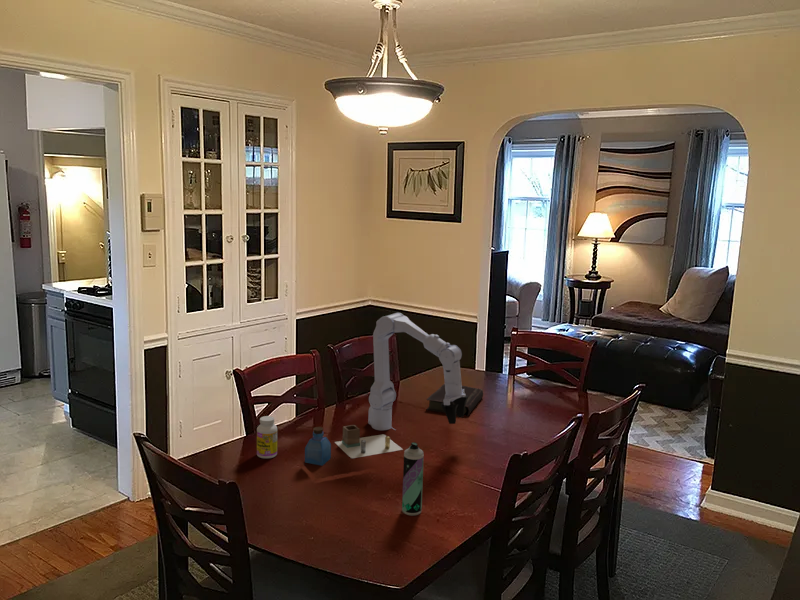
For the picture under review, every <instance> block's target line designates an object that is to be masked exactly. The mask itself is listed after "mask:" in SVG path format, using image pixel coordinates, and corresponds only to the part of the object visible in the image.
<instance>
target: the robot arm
mask: <svg viewBox="0 0 800 600" xmlns="http://www.w3.org/2000/svg"><path fill="white" fill-rule="evenodd" d="M375 322H376V325H375V328H374V330H373V333H372V338H373V339H372V342H373V344H372V345H373V367H374V368H373V369H374V370H373V371H374V382H373V384H372V385H371V387H370V394H369V396H368V402H369V404H370V406H369V408H368V419H367V420H368V421H367V423H368V425H370V426H371V428H372V429H374V430H376V431H388V430H390V429H393V430H394V431H396V430H397V429H395V428H393V426H392V422H393V421H392V418H393V416H392V415H393V404H394V403H393V402H394V401H396V399H397V398H396V397H397V392H396V390H395V387H394V383H393V381H391V380H390V378H391V377H390V350H389V349H390V348H389V339H390V338H391V337H392V336H393V335H394V334H395V333H406V334H407V335H409V336H410V337H412V338H413V339H416V340H417V341H419V342H421V343H422V344H423V347H424V349H426V350H427V351H428V352H430V353H431V354H432V355H435V356H436V357H437V358H438V359H439V362H440V363H441V364H442V369H443V377H444V384H445V391H446V394H445V399H444V400H443V401H444V403H442V404H441V407H442V408H443V410H444V411H445V415H446V419H447V421H448V424H450V425H455V424H456V422H457V418H464V416H465V414H464V410H465V405H466V401H467V399H468V396H466V394H465V391H464V389H462V386H463V384H462V375H461V373H462V372H461V361H460V360H461V359H462V357H463V352H462V349H461V348H460V347H459V346H458V345H456V344H451V343H450V342H448V341H447V342H446V341H445V340H443V339H442V338H440V335H438V334H434V333H431V334H428V332H425V331H424V330H423V329H422V328H421V327H419V326H418V325H417V324H415V323H414V322H413V321H412V320H410V318H409V317H408V316H406V315H404V314H403V313H401V312H394V313H392V314H388V315H385V316H384V315H383V316H381V317H380V318H378V319H377V321H375Z"/></svg>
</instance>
